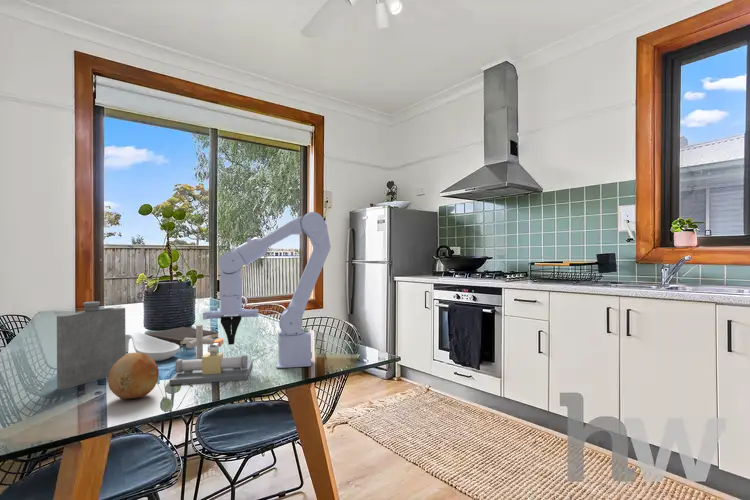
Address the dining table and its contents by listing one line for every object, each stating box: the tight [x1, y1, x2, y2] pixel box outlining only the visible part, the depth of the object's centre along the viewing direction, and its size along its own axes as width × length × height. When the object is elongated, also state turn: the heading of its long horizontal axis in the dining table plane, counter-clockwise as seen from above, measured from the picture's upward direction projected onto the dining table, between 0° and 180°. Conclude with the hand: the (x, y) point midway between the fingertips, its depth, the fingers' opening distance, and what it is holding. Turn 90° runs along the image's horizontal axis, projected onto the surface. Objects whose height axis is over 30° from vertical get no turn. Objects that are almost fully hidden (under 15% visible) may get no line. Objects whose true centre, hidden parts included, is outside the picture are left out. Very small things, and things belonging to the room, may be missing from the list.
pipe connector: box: [183, 324, 216, 359], centre depth 124 cm, size 10×10×10 cm
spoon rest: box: [125, 332, 181, 362], centre depth 125 cm, size 24×12×7 cm, turn 67°
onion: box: [107, 352, 160, 400], centre depth 89 cm, size 10×10×10 cm
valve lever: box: [207, 337, 224, 353], centre depth 109 cm, size 11×2×2 cm, turn 11°
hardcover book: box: [144, 326, 219, 346], centre depth 154 cm, size 16×23×2 cm
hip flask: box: [56, 301, 127, 391], centre depth 103 cm, size 16×4×20 cm, turn 154°
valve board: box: [169, 352, 254, 386], centre depth 107 cm, size 18×14×6 cm
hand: (231, 343), depth 112 cm, fingers closed
